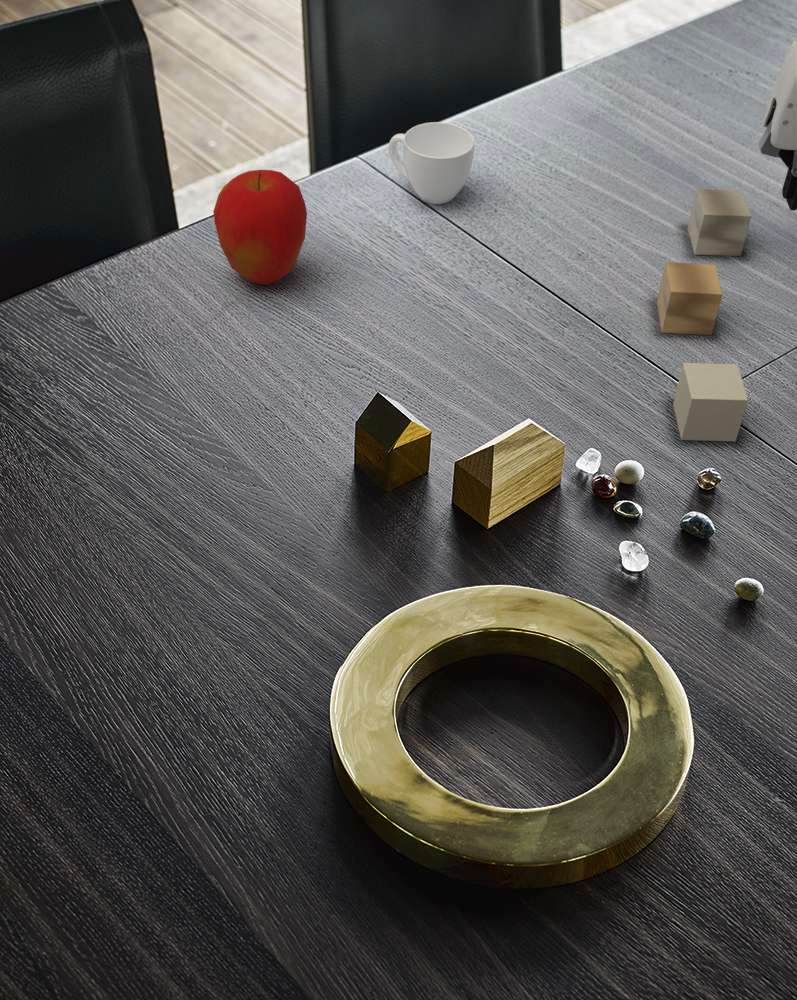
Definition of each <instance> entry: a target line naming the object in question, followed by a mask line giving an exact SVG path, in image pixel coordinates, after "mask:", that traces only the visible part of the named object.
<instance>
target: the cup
mask: <svg viewBox="0 0 797 1000" xmlns="http://www.w3.org/2000/svg"><path fill="white" fill-rule="evenodd" d="M399 143H400V144H402V148H403V149H402V152H403V153H402V158H403V159H401V156H400V154H399V152H398V144H399ZM475 145H476V141H475V137H474V136H473V134H472V133H471V132H470V131H468V130H467V129H465V128H464V127H462V126H460V125H456V124H453V123H450V122H441V121H433V122H431V121H430V122H424V123H421V124H417V125H415V126H413V127H411V128H410V129H408V130H407V131H406V132H405V133H396V134H394V135H393V136H392V137H391V139H390V140H389V143H388V146H387V150H388V157H389V159H390V161H391V163H392V164H393V166H394V167H395V169H396V170H397V172H399V173H400V175H401V176H402V177H404V178H405V179H406V180H408V182H409V185H410V186H411V188H412V189H413V191H414V193H415V194H416V195H417V197H418V198H419V199H420V201H423V202H424V203H428V204H431V205H444V204H447V203H449V202H451V201H452V200H453V199H454V198H455V197H456V196H457V195H458V194H459V193H460V192H461V190H462V189H463V187H464V186H465V184H466V182H467V180H468V178H469V176H470V174H471V171H472V167H473V164H474V163H473V162H474V157H475V156H474V155H475Z"/></svg>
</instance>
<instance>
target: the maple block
mask: <svg viewBox="0 0 797 1000" xmlns="http://www.w3.org/2000/svg"><path fill="white" fill-rule="evenodd" d="M722 290H723V289H722V286H721V281H720V277H719V272H718V268H717V265H716V264H711V263H694V262H693V263H691V262H673V261H665V264H664V268H663V272H662V277H661V281H660V286H659V291H658V293H657V294H658V295H657V300H656V306H657V312H658V313H657V314H658V319H659V326H660V331H661V333H663V334H682V335H696V336H697V335H700V336H713V333H714V328H715V325H716V322H717V317H718V314H719V310H720V305H721V303H722V302H721V301H722V298H723V295H724V294H723V291H722Z"/></svg>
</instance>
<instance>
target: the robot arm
mask: <svg viewBox="0 0 797 1000" xmlns="http://www.w3.org/2000/svg"><path fill="white" fill-rule="evenodd" d="M775 78H776V79H775V81H774V84H773V87H772V89H771V92H770V95H769V98H768V101H767V104H766V107H765V110H764V114H763V119H762V120H763V121H762V123H763V127H764V128H766V129H765V131H764V132H763V134H762V136H761V138H760V139H759V142H758V148H759V150H760V153H761V154H762V155H765V156H768V157H773V158H778V159H780V160H781V161H782V163H784V165H785V166H786V167H787V168H788V169H787V172H786V175H785V179H784V181H783V186H782V189H781V195H782V198H783V199H785V200H786V203H787V206H788V208H789V211H796V210H797V38H796V39H795V40H794V41H793V42H792V44H791V46H790V48H789V50H788V51H787V53H786V55H785V58H784V60H783V62H782V64H781V66H780V68H779V71H778V73H777V76H776V77H775Z"/></svg>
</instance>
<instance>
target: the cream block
mask: <svg viewBox="0 0 797 1000" xmlns="http://www.w3.org/2000/svg"><path fill="white" fill-rule="evenodd" d="M745 387H746V386H745V384H744V381H743V377H742V374H741V371H740V367H739V364H738V363H710V362H709V363H708V362H707V363H706V362H705V363H703V362H683V363H682V366H681V371H680V374H679V379H678V382H677V387H676V389H675V395H674V398H673V402H672V406H673V410H674V415H675V419H676V423H677V428H678V432H679V437H680V440H681V441H699V442H701V441H702V442H734V443H735V442H736V441H737V439H738V435H739V432H740V429H741V426H742V422H743V418H744V415H745V412H746V408H747V406H748V402H749V397H748V394H747V390H746V388H745Z"/></svg>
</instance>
